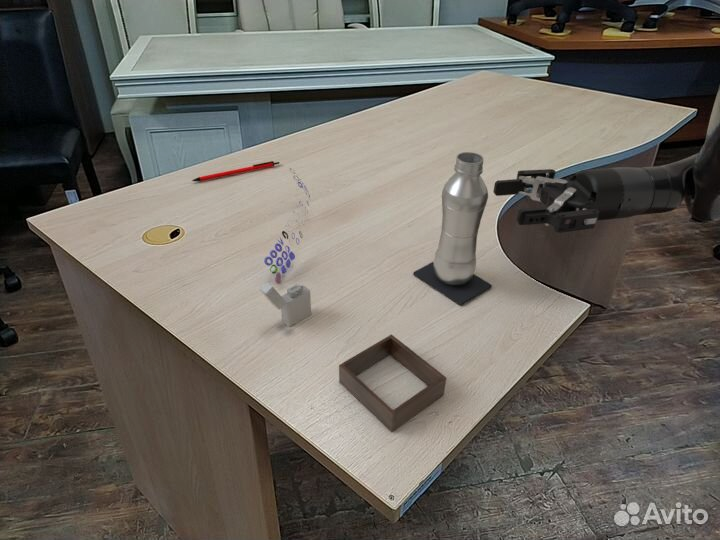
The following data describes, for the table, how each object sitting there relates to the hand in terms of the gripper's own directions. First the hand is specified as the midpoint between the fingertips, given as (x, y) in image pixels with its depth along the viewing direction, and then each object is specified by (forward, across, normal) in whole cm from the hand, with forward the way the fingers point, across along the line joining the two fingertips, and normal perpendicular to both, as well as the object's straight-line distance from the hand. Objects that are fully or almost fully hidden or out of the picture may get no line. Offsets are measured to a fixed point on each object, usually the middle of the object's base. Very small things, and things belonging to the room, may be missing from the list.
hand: (506, 202), depth 75 cm
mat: (+7, 0, +13) cm, 15 cm away
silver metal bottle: (+6, 0, +13) cm, 14 cm away
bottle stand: (+21, +20, +13) cm, 32 cm away
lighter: (+32, +6, +13) cm, 35 cm away
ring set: (+30, -15, +14) cm, 36 cm away
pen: (+40, -43, +13) cm, 60 cm away
